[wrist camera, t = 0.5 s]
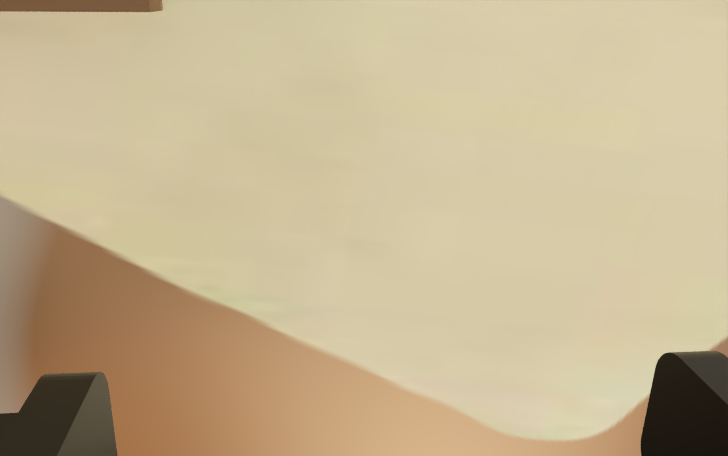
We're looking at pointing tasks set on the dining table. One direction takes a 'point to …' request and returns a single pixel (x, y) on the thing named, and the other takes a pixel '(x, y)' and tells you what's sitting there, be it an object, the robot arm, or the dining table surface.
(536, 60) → the dining table surface
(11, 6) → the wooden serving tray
